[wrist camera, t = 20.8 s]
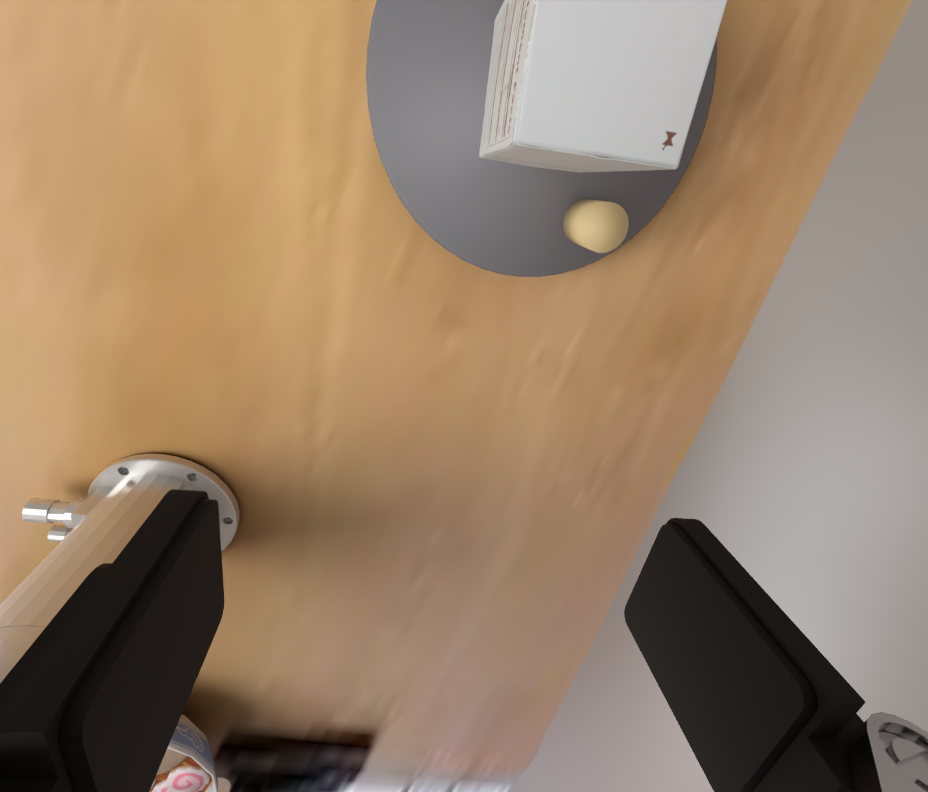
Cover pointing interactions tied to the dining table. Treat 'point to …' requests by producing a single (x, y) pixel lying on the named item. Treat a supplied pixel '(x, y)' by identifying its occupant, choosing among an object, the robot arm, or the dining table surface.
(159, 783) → the ramen bowl
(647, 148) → the supplement box
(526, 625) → the dining table surface
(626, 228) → the disc
